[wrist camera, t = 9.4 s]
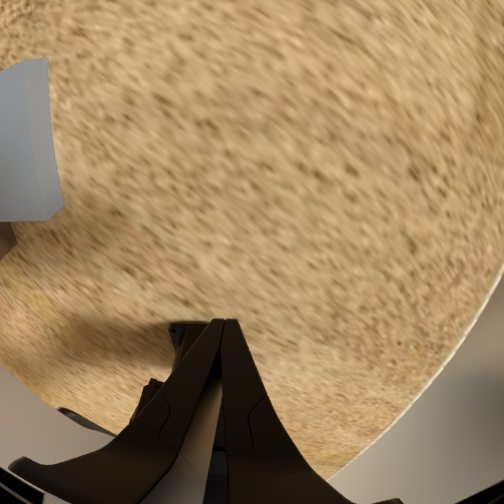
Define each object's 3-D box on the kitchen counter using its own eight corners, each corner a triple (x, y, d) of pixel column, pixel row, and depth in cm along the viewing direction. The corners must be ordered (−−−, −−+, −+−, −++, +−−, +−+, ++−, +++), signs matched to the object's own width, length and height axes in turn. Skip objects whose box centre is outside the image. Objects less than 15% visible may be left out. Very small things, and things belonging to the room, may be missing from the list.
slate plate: (67, 203, 20) (47, 220, 17) (9, 206, 20) (-10, 222, 17) (51, 57, 13) (26, 59, 11) (-10, 85, 13) (-33, 91, 11)
